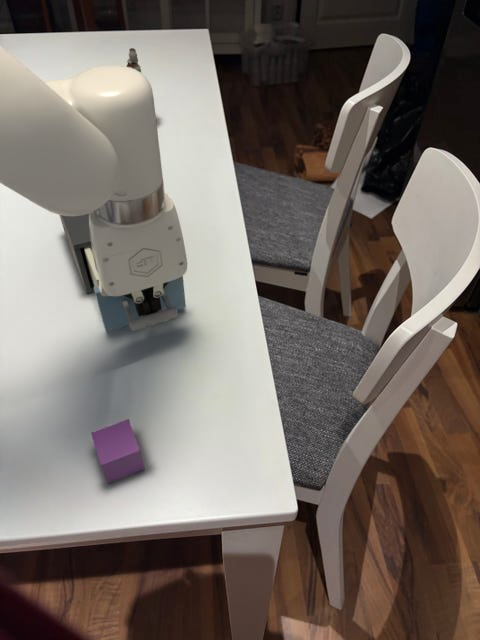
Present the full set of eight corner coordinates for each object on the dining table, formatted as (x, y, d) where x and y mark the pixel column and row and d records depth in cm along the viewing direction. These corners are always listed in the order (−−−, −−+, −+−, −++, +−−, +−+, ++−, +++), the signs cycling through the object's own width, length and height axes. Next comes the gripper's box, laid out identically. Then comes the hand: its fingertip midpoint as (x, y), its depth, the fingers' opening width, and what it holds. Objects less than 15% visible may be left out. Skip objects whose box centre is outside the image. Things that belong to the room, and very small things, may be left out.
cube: (107, 483, 57) (100, 465, 54) (98, 451, 60) (90, 432, 56) (145, 469, 58) (140, 450, 55) (134, 438, 61) (128, 418, 58)
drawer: (199, 332, 71) (196, 294, 65) (116, 360, 67) (106, 321, 62) (155, 250, 82) (150, 211, 77) (82, 270, 79) (71, 231, 73)
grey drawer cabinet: (169, 270, 80) (163, 221, 74) (86, 294, 77) (72, 245, 70) (140, 217, 89) (132, 169, 82) (65, 236, 86) (51, 188, 79)
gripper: (64, 234, 51) (100, 354, 64) (208, 197, 55) (213, 316, 68) (49, 193, 55) (86, 313, 69) (183, 162, 59) (192, 280, 73)
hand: (149, 314), depth 69 cm, fingers closed
